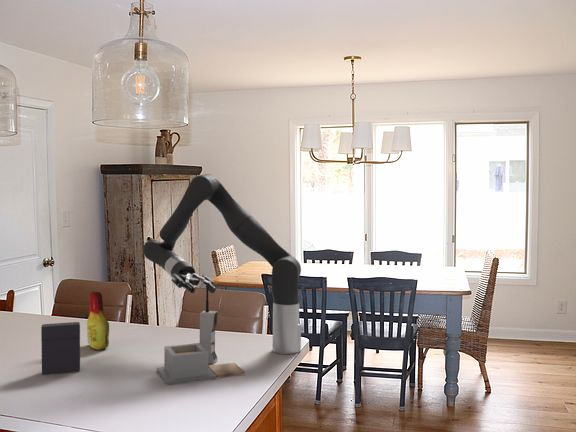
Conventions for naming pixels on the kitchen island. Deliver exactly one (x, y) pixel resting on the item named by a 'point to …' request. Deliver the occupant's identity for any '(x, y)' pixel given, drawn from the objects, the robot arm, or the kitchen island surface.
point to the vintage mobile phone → (208, 330)
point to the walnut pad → (226, 370)
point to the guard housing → (185, 364)
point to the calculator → (60, 348)
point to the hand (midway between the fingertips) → (204, 290)
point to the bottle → (97, 323)
